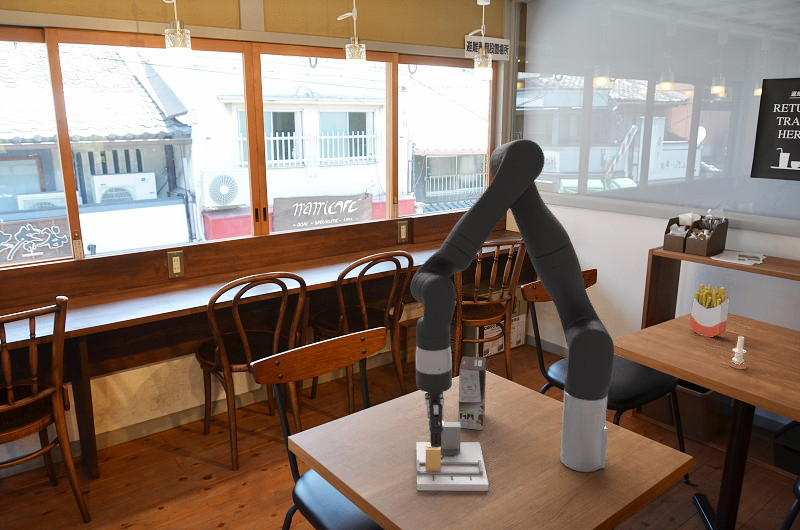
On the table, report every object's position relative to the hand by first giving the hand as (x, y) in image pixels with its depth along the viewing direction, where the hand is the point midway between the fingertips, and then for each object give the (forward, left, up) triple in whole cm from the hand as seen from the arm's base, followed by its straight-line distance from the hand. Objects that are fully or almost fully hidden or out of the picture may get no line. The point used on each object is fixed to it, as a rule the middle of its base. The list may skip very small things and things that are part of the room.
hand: (434, 435), depth 129 cm
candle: (-98, -62, -10) cm, 116 cm away
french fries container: (-102, -91, -10) cm, 136 cm away
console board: (-4, -4, -10) cm, 11 cm away
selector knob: (-4, -8, -9) cm, 12 cm away
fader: (0, -1, -9) cm, 8 cm away
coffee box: (-11, -26, -10) cm, 29 cm away
